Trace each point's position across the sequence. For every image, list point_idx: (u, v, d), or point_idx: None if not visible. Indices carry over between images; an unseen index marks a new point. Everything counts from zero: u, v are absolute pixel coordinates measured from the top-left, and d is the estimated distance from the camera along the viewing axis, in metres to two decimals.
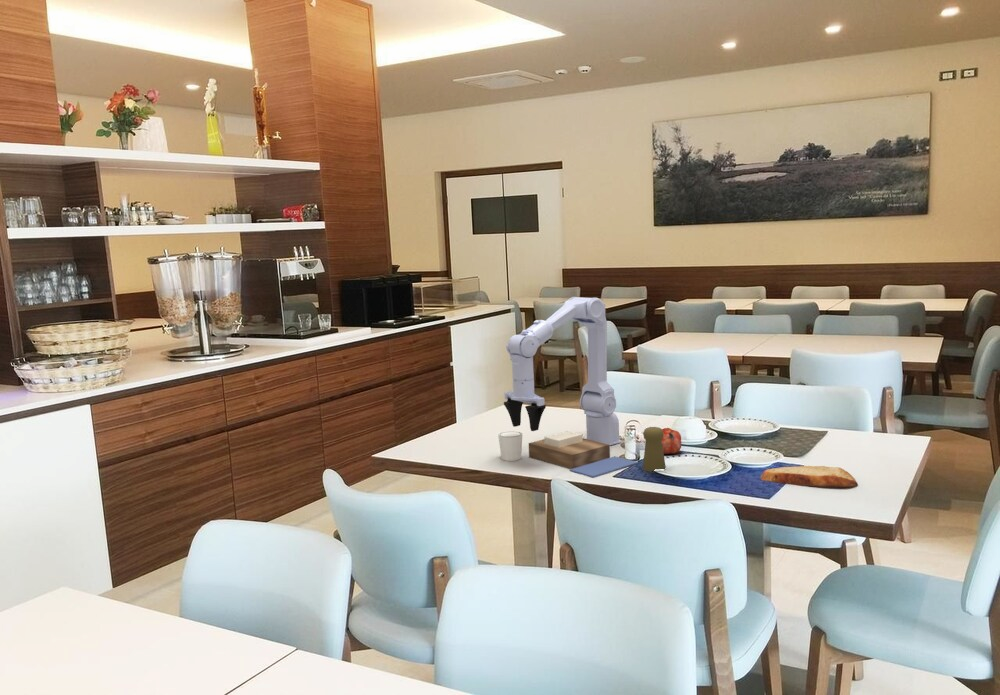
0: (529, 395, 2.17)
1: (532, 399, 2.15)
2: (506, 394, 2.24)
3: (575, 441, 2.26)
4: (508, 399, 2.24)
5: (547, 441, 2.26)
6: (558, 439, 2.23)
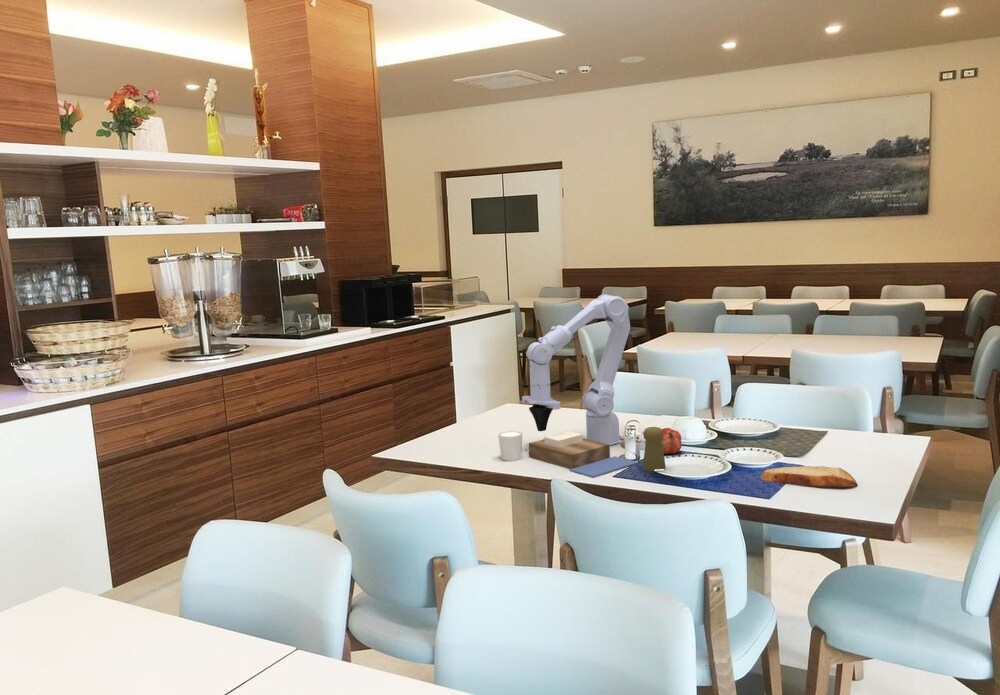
0: (546, 399, 2.30)
1: (549, 403, 2.28)
2: (523, 398, 2.37)
3: (575, 441, 2.26)
4: None
5: (547, 441, 2.26)
6: (558, 439, 2.23)
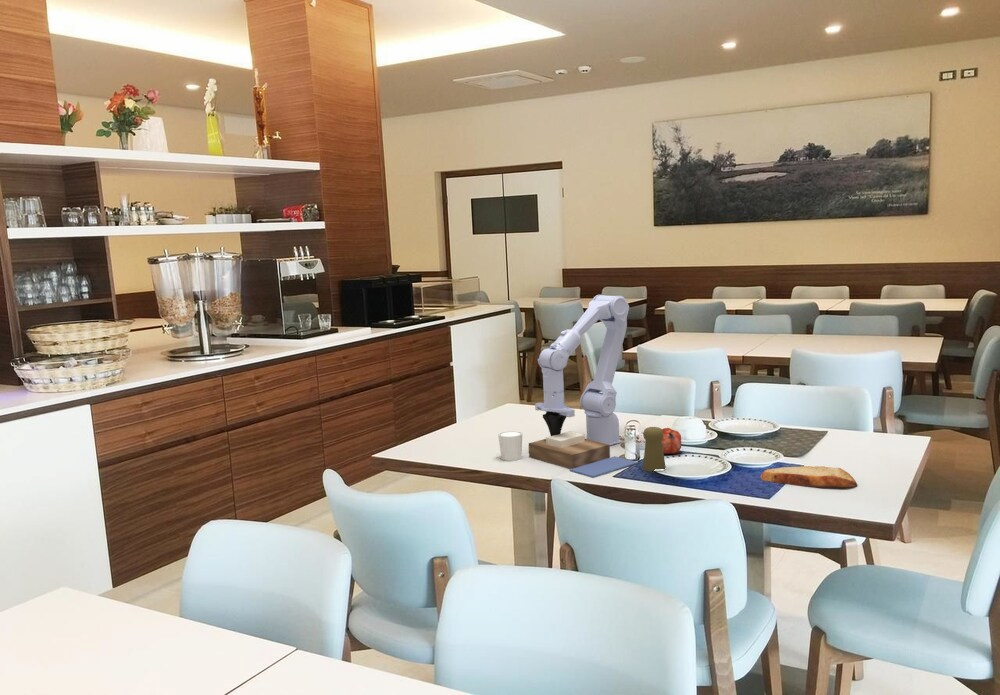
0: (559, 407, 2.26)
1: (563, 410, 2.24)
2: (536, 405, 2.33)
3: (577, 441, 2.26)
4: None
5: (549, 441, 2.25)
6: (560, 439, 2.23)
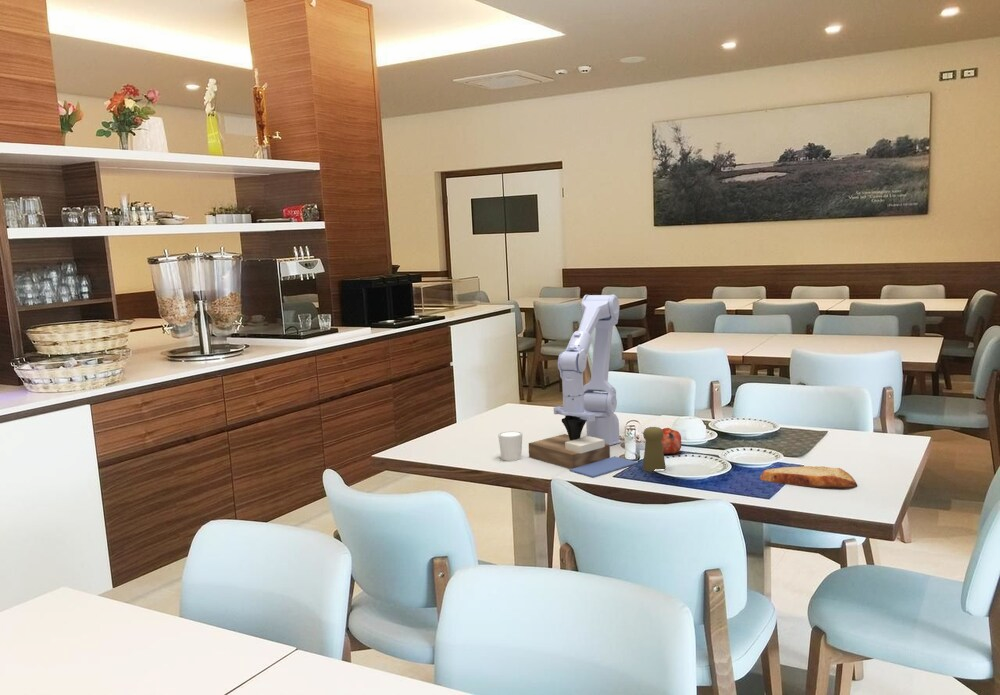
0: (579, 410, 2.20)
1: (583, 415, 2.18)
2: (555, 409, 2.27)
3: (597, 447, 2.19)
4: None
5: (568, 446, 2.19)
6: (579, 445, 2.17)
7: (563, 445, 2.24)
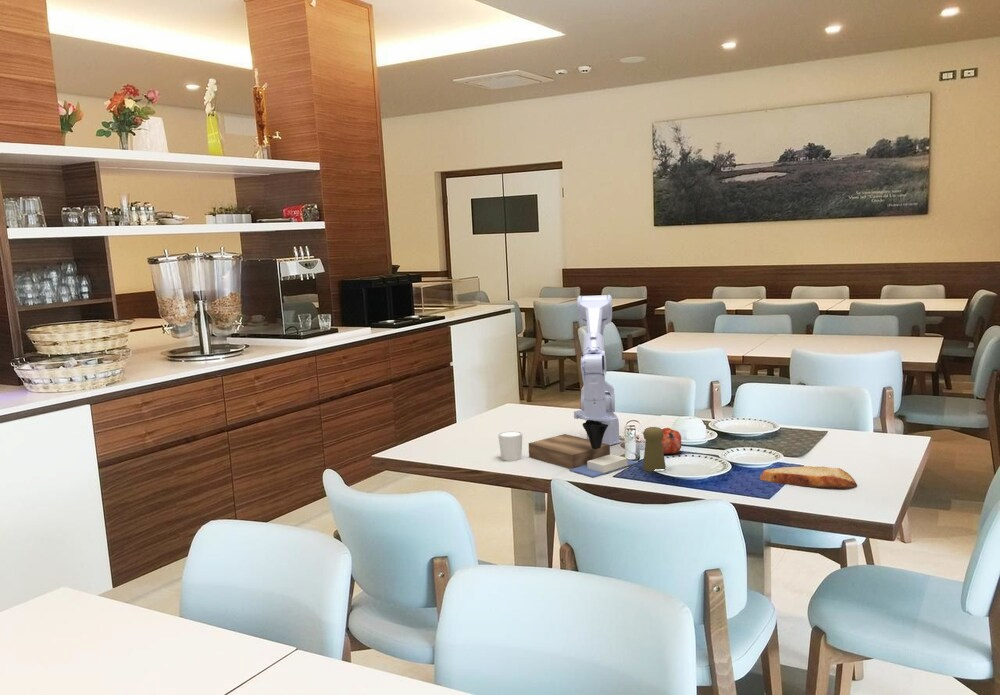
0: (601, 415, 2.14)
1: (605, 419, 2.11)
2: (575, 413, 2.20)
3: None
4: None
5: (599, 468, 2.11)
6: None
7: (563, 445, 2.24)
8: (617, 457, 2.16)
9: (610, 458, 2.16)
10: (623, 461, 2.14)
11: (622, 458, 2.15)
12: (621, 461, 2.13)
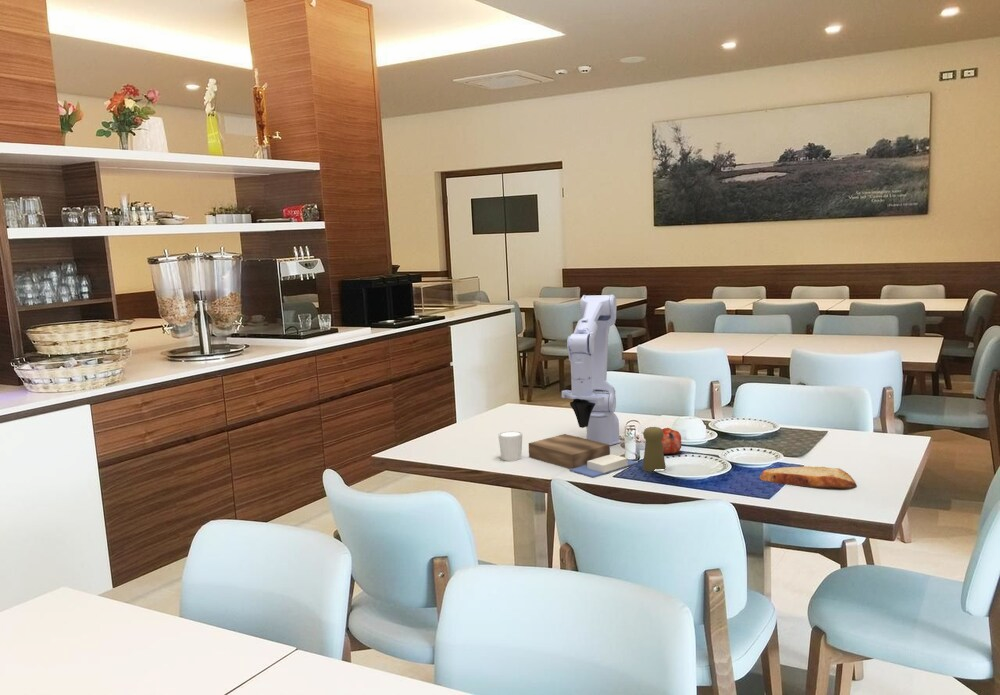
0: (588, 394, 2.17)
1: (592, 398, 2.14)
2: (563, 393, 2.23)
3: None
4: None
5: (599, 468, 2.11)
6: None
7: (563, 445, 2.24)
8: (617, 457, 2.16)
9: (610, 458, 2.16)
10: (623, 461, 2.14)
11: (622, 458, 2.15)
12: (621, 461, 2.13)
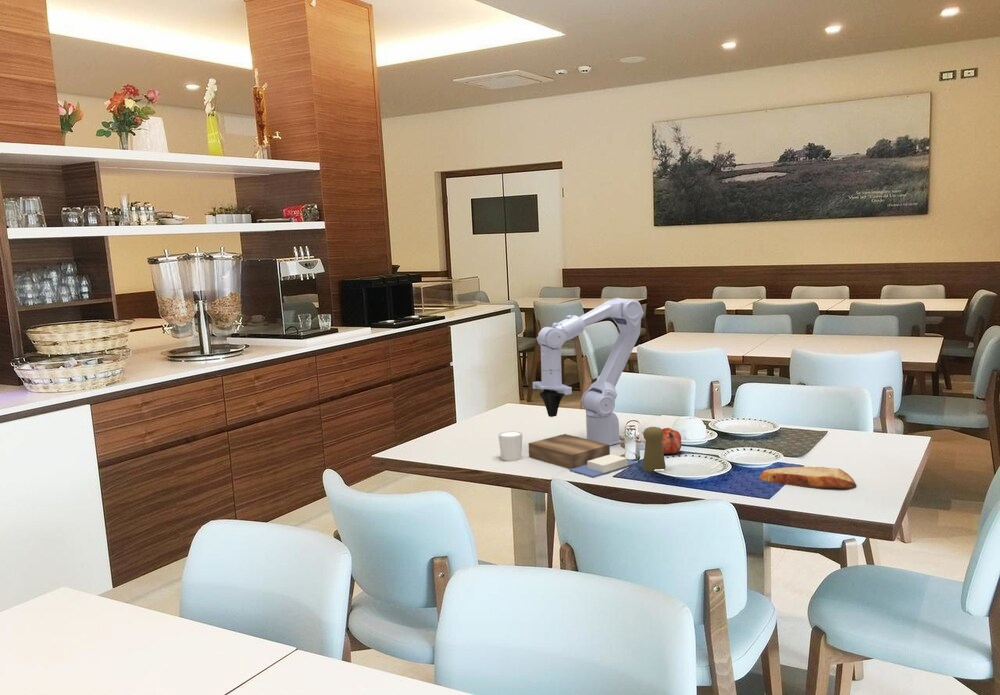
0: (557, 384, 2.29)
1: (560, 388, 2.26)
2: (534, 384, 2.35)
3: None
4: (536, 388, 2.35)
5: (599, 468, 2.11)
6: None
7: (563, 445, 2.24)
8: (617, 457, 2.16)
9: (610, 458, 2.16)
10: (623, 461, 2.14)
11: (622, 458, 2.15)
12: (621, 461, 2.13)
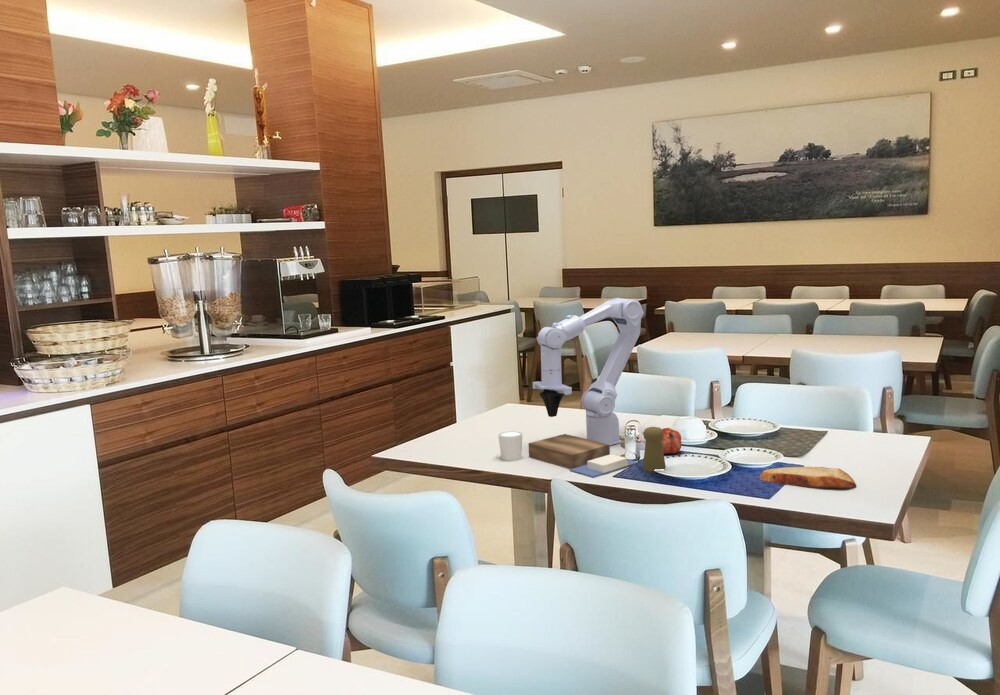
0: (557, 384, 2.29)
1: (560, 388, 2.26)
2: (534, 384, 2.35)
3: None
4: (536, 388, 2.35)
5: (599, 468, 2.11)
6: None
7: (563, 445, 2.24)
8: (617, 457, 2.16)
9: (610, 458, 2.16)
10: (623, 461, 2.14)
11: (622, 458, 2.15)
12: (621, 461, 2.13)
